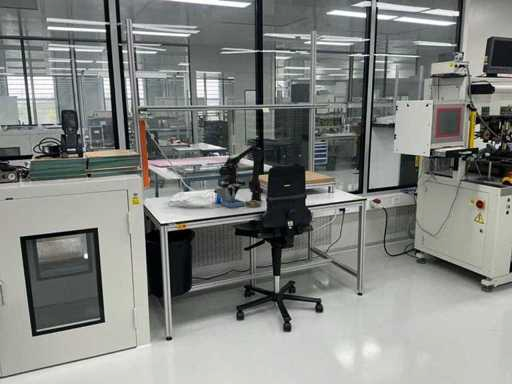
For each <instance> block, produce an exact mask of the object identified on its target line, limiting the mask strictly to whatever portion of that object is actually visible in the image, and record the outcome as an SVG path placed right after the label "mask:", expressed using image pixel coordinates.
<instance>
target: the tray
mask: <svg viewBox="0 0 512 384" xmlns="http://www.w3.org/2000/svg"><path fill="white" fill-rule="evenodd" d="M220 201H221V200H220ZM220 204H221V206H222V205H223V206H222V207H225V208H227V209H233V208H240V207H245V201H244V200H241V199H238V198H235V203H231V200H226V201H221V202H220Z"/></svg>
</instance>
